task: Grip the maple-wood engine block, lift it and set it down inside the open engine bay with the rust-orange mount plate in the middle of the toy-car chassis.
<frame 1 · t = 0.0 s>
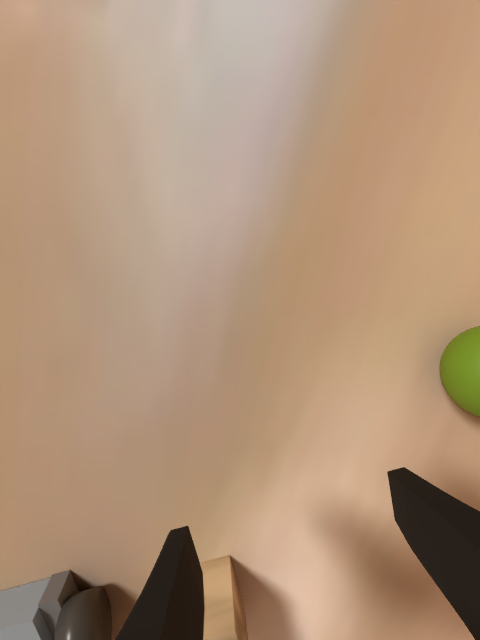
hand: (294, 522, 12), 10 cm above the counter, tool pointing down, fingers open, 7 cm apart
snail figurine: (465, 357, 23), on the counter
engine block: (198, 590, 25), on the counter
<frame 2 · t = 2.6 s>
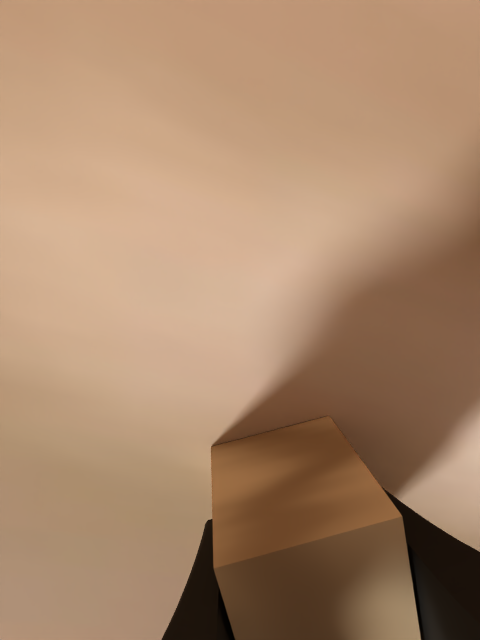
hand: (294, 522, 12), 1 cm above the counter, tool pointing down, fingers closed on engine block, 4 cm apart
engine block: (285, 494, 14), on the counter, touching gripper
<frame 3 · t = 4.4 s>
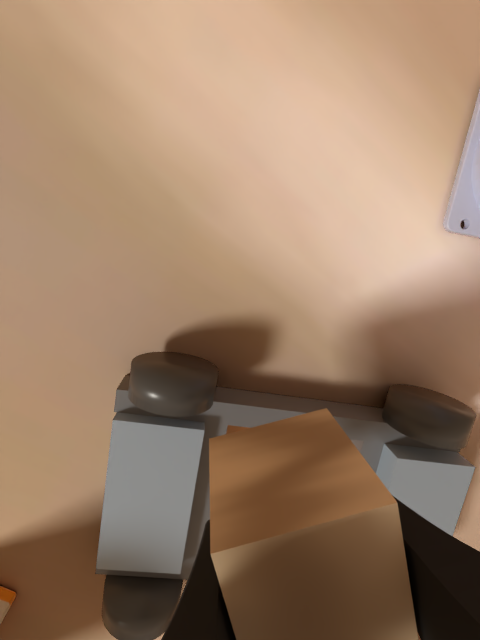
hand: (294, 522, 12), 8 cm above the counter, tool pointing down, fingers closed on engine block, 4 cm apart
car chassis: (275, 479, 21), on the counter
engine block: (283, 486, 14), point 7 cm above the counter, touching gripper
when the fingers open (3 cm above the counter, at t = 6.6 s): engine block drops 1 cm, resting on car chassis.
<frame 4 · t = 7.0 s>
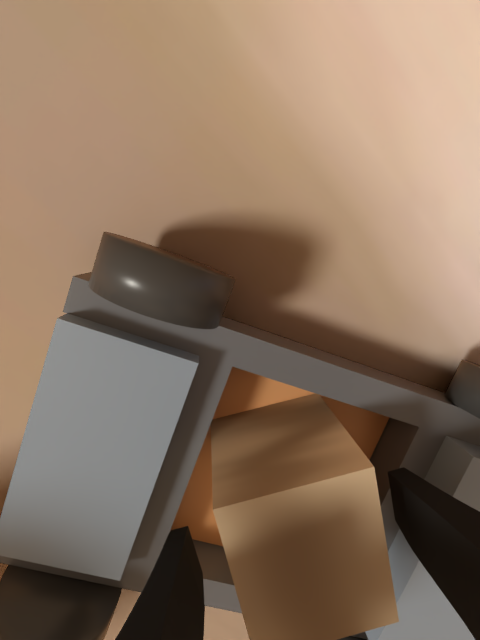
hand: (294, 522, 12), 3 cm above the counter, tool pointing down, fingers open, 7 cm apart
car chassis: (276, 466, 15), on the counter
engine block: (277, 464, 15), resting on car chassis
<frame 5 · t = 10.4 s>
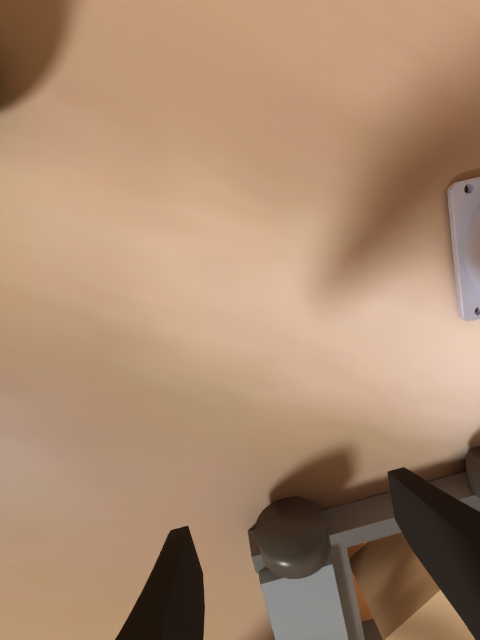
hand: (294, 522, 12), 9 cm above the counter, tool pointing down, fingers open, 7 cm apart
car chassis: (396, 558, 25), on the counter
engine block: (397, 559, 24), resting on car chassis
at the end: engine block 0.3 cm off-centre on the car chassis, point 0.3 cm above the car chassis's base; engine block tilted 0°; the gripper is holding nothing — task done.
